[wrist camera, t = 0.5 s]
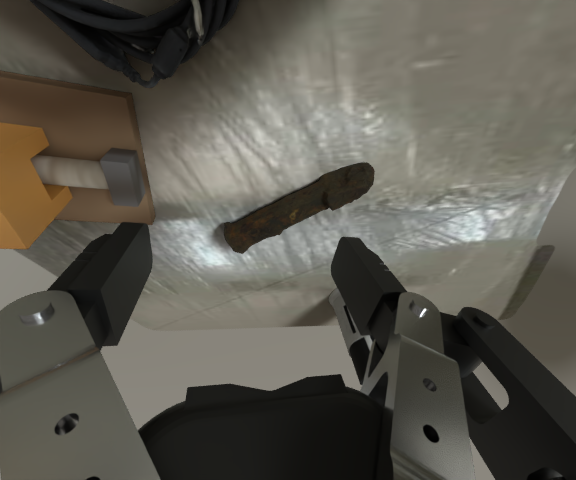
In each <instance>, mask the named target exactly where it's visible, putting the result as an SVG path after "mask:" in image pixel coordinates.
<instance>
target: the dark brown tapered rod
mask: <svg viewBox="0 0 576 480" xmlns="http://www.w3.org/2000/svg"><path fill="white" fill-rule="evenodd" d="M374 172H375V171H374V169H373V167H372V166H371V165H370V164H369V163H358V164H354V165H350V166H346V167H343V168H341V169H339V170H336V171H333V172H330V173H327V174H324V175H322V176H321V177H320V180H319V181H318V182H316V183H314V184H312V185H310V186H308V187H306V188H304V189H302V190H300V191H298V192H295V193H293V194H290V195H288V196H286V197H285V198H283V199H281V200H280V201H278V202H276V203H274V204H271V205H269V206H267V207H264V208H263V209H261V210H258V211H256V212H255V213H254V214H252V215H249V216H247V217H246V218H244V219H242V220H240V221H238V222H236V223H233V224H232V223H230V222H227V223H224V226H225V227H224V236H225V239H226V241H227V243H228V244H229V245H230V247H231V248H232V249H233V251H235V252H238V253H241V254H243V253H244V252H245V251H247V250H248V248H249V247H250V246H252V245H253V244H255V243H258V242H260V241H262V240H263V239H266V238H268V237H272V236H276V235H280V234H281V233H282V231H283V230H284V229H287V228H288V227H290V226H292V225H294V224H296V223H298V222H301V221H303V220H304V219H307V218H309V217H311V216H312V215H314V214H316V213H318V212H320V211H322V210H327V209H328V208H330V209H331V210H333V211H334V210H336V209H338V208H340V207H342V206H344V205H345V204H347V203H351V202H353V201H354V200H357V199H358V198H360V197H361V196H362V195H363V194H365V193H367V192H368V190H369V189H370V187H371V186H372V185H373V181H374Z"/></svg>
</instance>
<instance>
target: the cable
mask: <svg viewBox="0 0 576 480" xmlns="http://www.w3.org/2000/svg"><path fill="white" fill-rule="evenodd" d="M30 1H31V2H32V3H33V4H34V5H35V6H36V7H37V8H39V9H40V10H41V11H42V12H43V13H44V14H45V15H46V16H47V17H49V18H50V19H51V20H52V21H53V22H54V23H55V24H56V25H57V26H59V27H60V28H61V29H62V30H63V31H64V32H65V33H66V34H68V35H69V36H70V37H71V38H72V39H73V40H74V41H75V42H76V43H78V44H79V45H80V46H81V47H82V48H83V49H84V50H85V51H86V52H88V53H89V54H90V55H91V56H92V57H93V58H95V59H96V60H98V61H101V62H102V63H103V64H104V65H106V66H107V67H109V68H111V69H113V70H116V71H120V72H121V71H122V72H123V74H124V75H126V76H127V77H129V78H130V80H131V81H132V82H137V83H139V84H140V85H142V86H144V87H146V88H152V87H154V86H155V85H156V84H157V83H158V81H159V80H160V79H166V78H167V77H171V76H173V74H174V72H175V71H176V69H177V68H178V66H179V64H182V63H184V62H186V61H188V60H189V59H190V58H192V57H193V56H194V55H195V54H196V53H197V51H198V50H199V49H200V47H201V46H203V45H204V44H206V43H207V42H208V41H209V40H210V39H211V38H212V37H213V36H214V35H215V33H216V32H217V31H218V30H220V29H221V28H222V27H224V26H225V25H226V24H227V23H228V21H229V20H230V19H231V17H232V16H233V14H234V12H235V10H236V8H237V5H238V2H239V0H181V1H179V2H178V3H176V4H174V5H173V6H171V7H169V8H167V9H165V10H163V11H161V12H159V13H156V14H154V15H150V16H148V17H146V16H143V15H141V14H138V13H135V12H133V11H129V10H127V9H124V8H121V7H118V6H116V5H113V4H110V3H107V2H105V1H102V0H30ZM153 49H156V52H155V54H151V53H154V50H153ZM123 51H125V52H126V53H128V54H130V55H132V56H134V57H136V58H138V59H140V60H143V61H145V62H148V63H150V64H153V66H152V71H153V72H154V75H153V77H152V78H151V79H150V81H148V82H147V81H145V80H142V79H141V78H140V74H139V73H138V72H137V71H135V70H134V69H133V68H132V67H131V66H130V64H129V63H128V61H127V59H126V57H125V54H124V52H123Z"/></svg>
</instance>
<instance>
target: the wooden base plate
mask: <svg viewBox="0 0 576 480" xmlns="http://www.w3.org/2000/svg"><path fill="white" fill-rule="evenodd" d="M0 122H1V123H8V124H16V125H24V126H32V127H39V128H42V129H43V131H44V134H45V136H46V138H47V140H48V143H49V146H48V147H46V148H45V149H43V150H42V151H41V152H39V153H38V154H36V155H35V156H34V157H32V158H31V159H30V160H31V162H32V164H33V166H34V168H35V170H36V172H37V174H38V175H39V177H40V179H41V181H42V183H43V184H48V185H60V186H68V188H69V190H70V192H71V194H72V197H73V198H72V199H71V200H70V201H69V203H68V204H67V205H66V206H65V207H64V208H63V209H62V211H61V212H60V213H59V214H58V215H57V216H56V217H55V219H54V220H71V221H90V222H109V223H122V222H134V223H146V224H148V225H153V222H154V219H155V212H154V206H153V201H152V196H151V191H150V186H149V181H148V176H147V170H146V165H145V160H144V155H143V150H142V145H141V139H140V134H139V129H138V124H137V119H136V114H135V109H134V103H133V98H132V93H127V92H121V91H115V90H109V89H103V88H98V87H92V86H86V85H80V84H75V83H69V82H63V81H57V80H51V79H46V78H40V77H34V76H28V75H22V74H17V73H11V72H5V71H0Z"/></svg>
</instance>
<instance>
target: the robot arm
mask: <svg viewBox="0 0 576 480" xmlns="http://www.w3.org/2000/svg"><path fill="white" fill-rule="evenodd" d="M152 261H153V258H152V250H151V243H150V235H149V228H148V225H147V224H146V223H134V222H122V223H121V224H120V225H119V226H118V228H117V229H116V230H115V231H114V233H113V234H105V235H103V236H101V237H99V238H97V239H95V240H93V241H92V242H91V243H90V244H89V245H88V246H87V247H86V248H85V249H84V250H83V253H81V254H80V255H79V256H78V257H77V258H76V259H75V261H73V262H72V263H71V265H70V266H69V267H68V268H67V269H66V270H65V271H64V272H63V273H62V274H61V276H60V277H59V278H58V279H57V280H56V281H55V282H54V283H53V284H52V285H51V287H50V288H49V289H48V290H47V291H43V292H37V293H34V294H30V295H28V296H25V297H22V298H20V299H18V300H16V301H14V302H12V303H10V304H9V305H7V306H6V307H5V308H3V309H2V310H1V311H0V473H1V480H476V479H475V472H474V465H473V459H472V452H471V445H470V439H471V440H472V442H473V444H474V445H475V447H476V449H477V450H478V452H479V453H480V455H481V457H482V458H483V460H484V462H485V463H486V465H487V467H488V468H489V470H490V471H491V473H492V475H493V476H494V478H495V480H576V397H575V396H574V395H573V394H572V393H571V392H570V391H569V390H568V389H567V388H566V387H565V386H564V385H563V384H562V383H561V382H560V381H559V380H558V379H557V378H556V377H555V376H554V375H553V374H552V373H551V372H550V371H549V370H547V368H546V367H545V366H543V365H542V364H541V363H540V362H539V361H538V360H537V359H536V358H535V357H534V356H533V355H532V354H531V353H530V352H529V351H528V350H527V349H526V348H525V347H524V346H523V345H522V344H521V343H520V342H519V341H518V340H517V339H516V338H515V337H514V336H513V335H511V334H510V333H509V332H508V331H507V330H506V329H505V328H504V327H503V326H502V325H501V324H500V323H499V322H498V321H497V320H496V319H494V318H493V317H492V316H490V315H489V314H487V313H485V312H483V311H481V310H479V309H476V308H472V307H464V308H462V310H461V311H460V312H459V313H458V315H457V316H453V315H450V314H446V313H442V312H439V310H438V309H437V307H436V306H435V305H434V304H433V303H432V302H431V301H429V300H428V299H426V298H425V297H423V296H421V295H419V294H416V293H412V292H407V291H406V290H405V288H404V287H403V286H402V285H401V283H400V282H399V281H398V280H397V278H396V277H395V276H394V275H393V274H392V272H391V271H389V269H388V267H387V266H386V265H384V262H383V261H382V260H381V259H380V258H379V256H378V255H376V254H375V253H374V252H372V251H371V250H370V249H368V248H367V247H366V246H365V244H364V243H363V242H362V241H361V239H360V238H355V237H342V238H341V239H340V241H339V243H338V246H337V249H336V252H335V255H334V258H333V261H332V264H331V275H332V278H333V280H334V282H335V284H336V286H337V288H338V290H339V292H340V294H341V296H342V298H343V300H344V302H345V304H346V306H347V308H348V310H349V312H350V314H351V316H352V318H353V321H354V323H355V325H356V327H357V329H358V331H359V333H360V335H361V336H366V335H373V337H374V338H375V339H374V341H373V343H372V345H371V350H370V354H369V359H368V363H367V367H366V372H365V376H364V381H363V384H362V387H361V390H360V391H358V390H355V389H352V388H349V387H345V384H344V381H343V379H342V376H341V374H338V375H328V376H315V377H306V378H304V379H301V380H299V381H297V382H294V383H292V384H289V385H286V386H284V387H281V388H279V389H277V390H273V391H266V390H260V389H255V388H250V387H245V386H239V385H234V384H221V385H210V386H198V387H188V388H187V395H186V401H184V402H181V403H178V404H176V405H174V406H172V407H170V408H168V409H166V410H165V411H163V412H161V413H160V414H158V415H157V416H155V417H154V418H152V419H151V420H150V421H148V422H147V423H146V424H145V425H143V426H142V427H141V428H140V429H139V430H138V431H137V429H136V427H135V424H134V422H133V420H132V418H131V416H130V414H129V411H128V409H127V407H126V405H125V403H124V401H123V399H122V397H121V394H120V392H119V390H118V388H117V386H116V384H115V382H114V380H113V378H112V376H111V373H110V371H109V369H108V367H107V365H106V363H105V361H104V359H103V356H102V354H101V352H100V350H101V348H102V346H117V345H118V343H119V341H120V338H121V336H122V334H123V332H124V330H125V327H126V325H127V323H128V321H129V319H130V316H131V314H132V312H133V310H134V308H135V305H136V303H137V301H138V299H139V297H140V294H141V292H142V290H143V288H144V285H145V283H146V281H147V279H148V277H149V274H150V272H151V269H152ZM481 362H483V363H484V364H485V365H486V366H487V367H488V369H489V370H490V371H491V372H492V373H493V375H494V376H495V377H496V378H497V380H498V381H499V382H500V383H501V384H502V385H503V387H504V388H505V389H506V391H507V393H508V396H509V404H508V406H507V407H506V408H504V409H503V410H501V409H500V407H499V406H498V405H497V403H496V402H495V401H494V399H493V398H492V397H491V395H490V394H489V393H488V392H487V390H486V389H485V388H484V386H483V385H482V384H481V383H480V381H479V380H478V378H477V377H476V376H475V374H474V373H473V371H474V370H475V369H476V368H477V367H478V366H479V365H480V364H481ZM469 437H470V439H469Z"/></svg>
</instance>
